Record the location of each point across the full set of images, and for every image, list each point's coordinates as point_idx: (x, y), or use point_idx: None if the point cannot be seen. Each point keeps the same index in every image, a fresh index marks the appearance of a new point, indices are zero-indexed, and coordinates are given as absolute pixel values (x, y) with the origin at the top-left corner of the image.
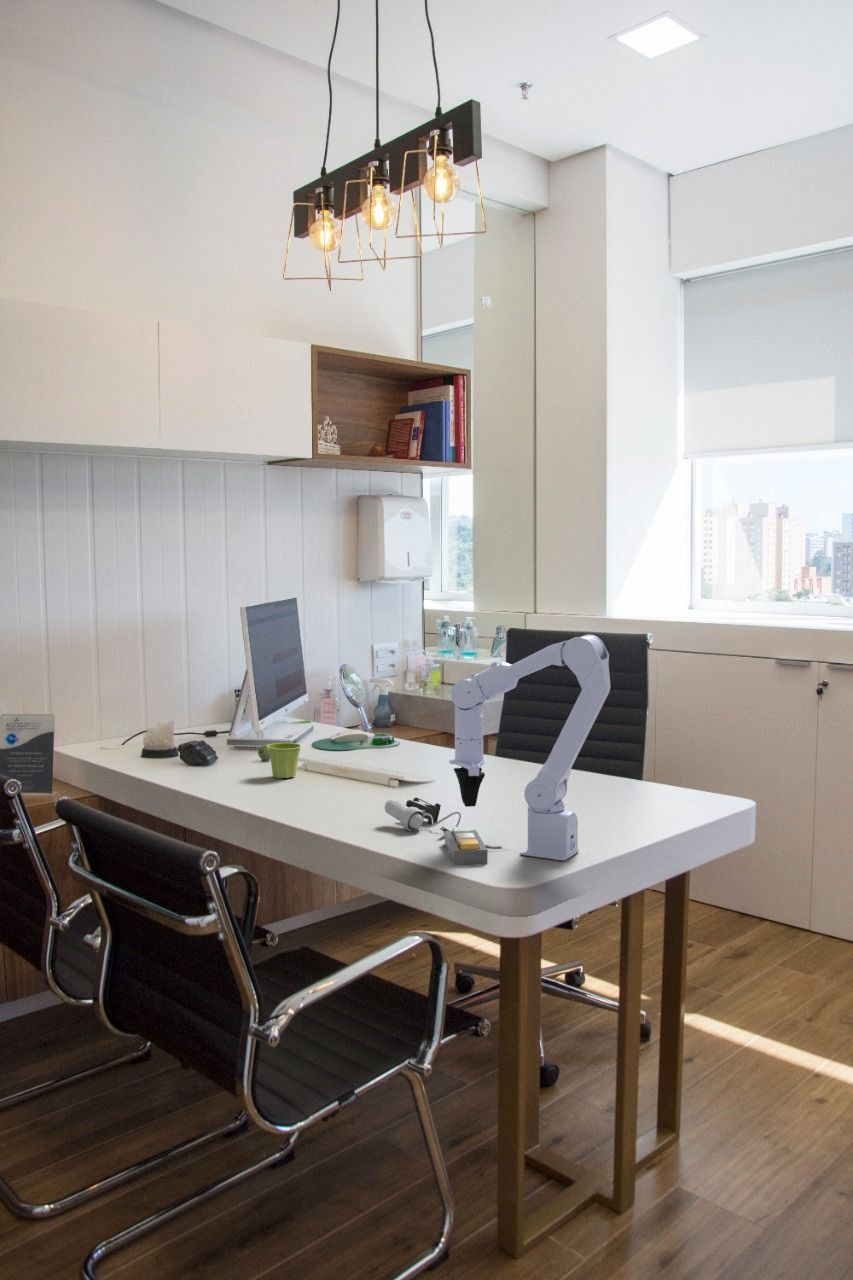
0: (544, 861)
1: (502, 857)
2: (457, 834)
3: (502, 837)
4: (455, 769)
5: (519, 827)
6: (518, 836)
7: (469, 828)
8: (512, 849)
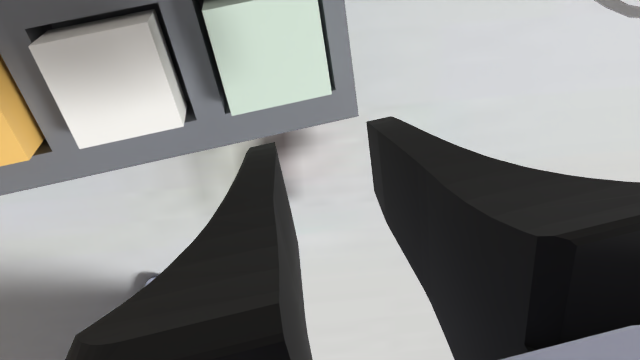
0: None
1: (103, 219)
2: (116, 36)
3: None
4: (621, 252)
5: None
6: None
7: (289, 99)
8: None
